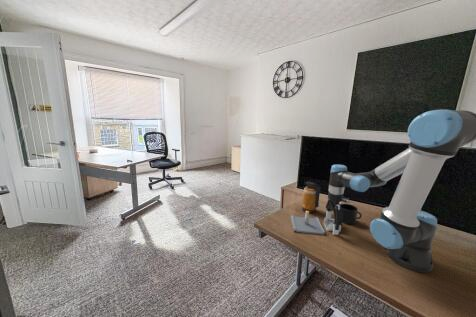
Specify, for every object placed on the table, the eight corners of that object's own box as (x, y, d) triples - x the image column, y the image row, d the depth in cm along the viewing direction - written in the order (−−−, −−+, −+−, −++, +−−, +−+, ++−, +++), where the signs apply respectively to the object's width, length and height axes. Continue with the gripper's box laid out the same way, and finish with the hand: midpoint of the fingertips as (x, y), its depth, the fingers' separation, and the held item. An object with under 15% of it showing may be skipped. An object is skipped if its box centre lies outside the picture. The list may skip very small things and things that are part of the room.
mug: (361, 227, 111) (364, 212, 109) (338, 222, 115) (340, 208, 114) (359, 219, 119) (361, 206, 117) (337, 215, 124) (339, 202, 122)
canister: (305, 206, 137) (308, 179, 133) (321, 211, 129) (323, 183, 125) (299, 209, 131) (301, 182, 127) (314, 215, 123) (317, 186, 119)
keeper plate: (324, 234, 103) (326, 220, 101) (293, 231, 105) (294, 217, 103) (317, 219, 118) (318, 206, 116) (290, 217, 121) (291, 204, 119)
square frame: (340, 232, 106) (341, 225, 105) (326, 230, 107) (327, 224, 106) (336, 225, 112) (336, 219, 112) (323, 224, 113) (324, 217, 113)
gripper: (352, 202, 93) (347, 241, 97) (335, 185, 117) (331, 217, 121) (336, 201, 94) (331, 240, 98) (322, 184, 118) (319, 216, 122)
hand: (331, 227), depth 110 cm, fingers open, 13 cm apart
